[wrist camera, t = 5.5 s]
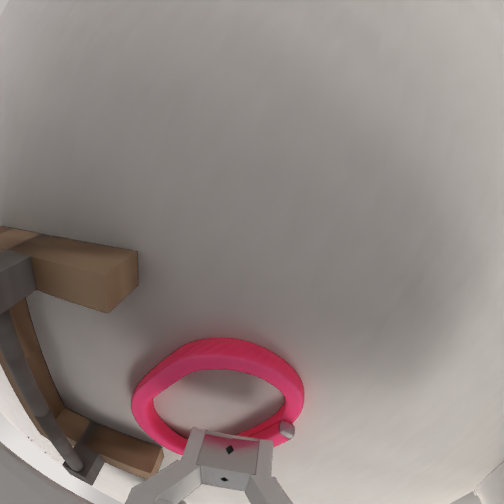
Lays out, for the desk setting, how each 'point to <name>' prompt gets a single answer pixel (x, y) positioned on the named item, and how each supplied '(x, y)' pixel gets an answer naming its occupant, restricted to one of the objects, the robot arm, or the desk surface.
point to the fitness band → (229, 358)
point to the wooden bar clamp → (30, 356)
